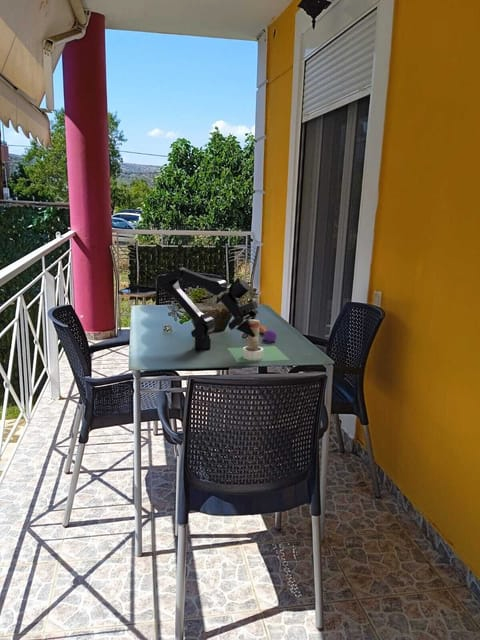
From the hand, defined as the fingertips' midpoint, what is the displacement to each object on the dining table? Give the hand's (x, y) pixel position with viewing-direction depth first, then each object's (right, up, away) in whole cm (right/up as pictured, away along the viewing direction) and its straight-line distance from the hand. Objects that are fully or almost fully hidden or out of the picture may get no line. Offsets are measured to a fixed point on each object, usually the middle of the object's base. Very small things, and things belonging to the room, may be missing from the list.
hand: (256, 335), depth 189 cm
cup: (-2, -9, +3) cm, 9 cm away
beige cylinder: (-2, -6, +2) cm, 7 cm away
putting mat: (+1, -8, +7) cm, 11 cm away
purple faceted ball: (+6, -3, +34) cm, 35 cm away
